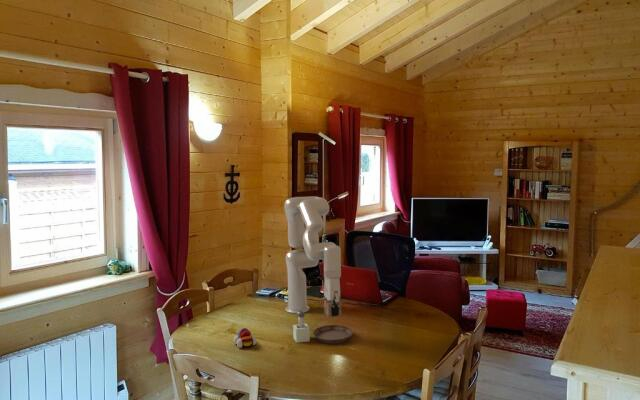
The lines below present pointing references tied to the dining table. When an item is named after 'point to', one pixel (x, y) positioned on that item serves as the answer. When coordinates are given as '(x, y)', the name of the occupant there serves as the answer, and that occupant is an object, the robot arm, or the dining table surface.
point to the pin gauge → (301, 319)
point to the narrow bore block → (328, 308)
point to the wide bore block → (301, 333)
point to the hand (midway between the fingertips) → (332, 312)
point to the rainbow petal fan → (244, 338)
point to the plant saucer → (333, 334)
